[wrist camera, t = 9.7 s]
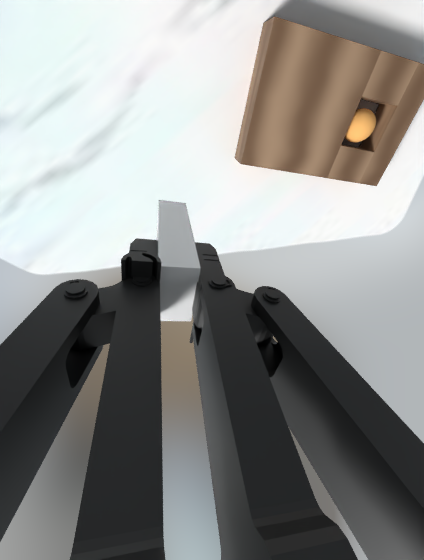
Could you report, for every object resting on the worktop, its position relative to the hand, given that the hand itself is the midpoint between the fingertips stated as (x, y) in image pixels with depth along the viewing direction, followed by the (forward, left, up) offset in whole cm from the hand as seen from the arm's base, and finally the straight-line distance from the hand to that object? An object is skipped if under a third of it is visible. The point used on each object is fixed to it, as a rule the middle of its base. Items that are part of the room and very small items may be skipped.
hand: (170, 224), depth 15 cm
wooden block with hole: (-7, +21, -24) cm, 33 cm away
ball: (-7, +26, -22) cm, 35 cm away
